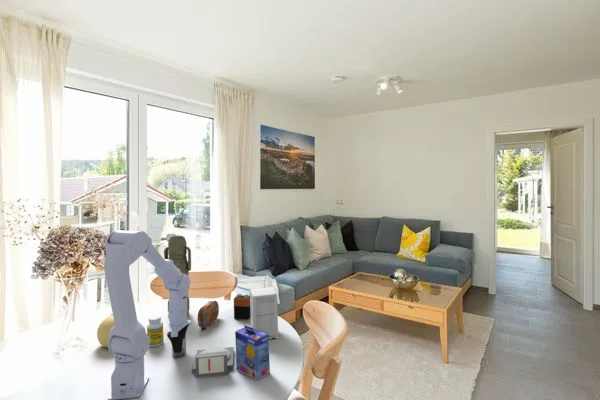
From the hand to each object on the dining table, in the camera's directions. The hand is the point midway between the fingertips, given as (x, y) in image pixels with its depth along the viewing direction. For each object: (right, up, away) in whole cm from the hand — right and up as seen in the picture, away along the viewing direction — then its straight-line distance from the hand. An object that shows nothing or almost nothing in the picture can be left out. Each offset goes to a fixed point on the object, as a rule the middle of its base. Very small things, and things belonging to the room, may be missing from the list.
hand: (179, 349), depth 112 cm
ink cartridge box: (+26, -2, -11) cm, 28 cm away
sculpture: (-26, -2, +9) cm, 27 cm away
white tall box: (+27, -1, +15) cm, 31 cm away
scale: (+13, -2, -6) cm, 15 cm away
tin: (+3, -1, +26) cm, 26 cm away
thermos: (-13, -1, +35) cm, 38 cm away
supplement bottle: (-12, -2, +8) cm, 14 cm away
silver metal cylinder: (0, -2, 0) cm, 2 cm away
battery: (+16, -1, +32) cm, 36 cm away
